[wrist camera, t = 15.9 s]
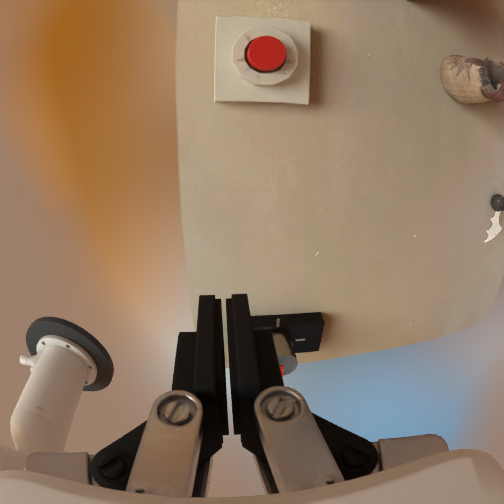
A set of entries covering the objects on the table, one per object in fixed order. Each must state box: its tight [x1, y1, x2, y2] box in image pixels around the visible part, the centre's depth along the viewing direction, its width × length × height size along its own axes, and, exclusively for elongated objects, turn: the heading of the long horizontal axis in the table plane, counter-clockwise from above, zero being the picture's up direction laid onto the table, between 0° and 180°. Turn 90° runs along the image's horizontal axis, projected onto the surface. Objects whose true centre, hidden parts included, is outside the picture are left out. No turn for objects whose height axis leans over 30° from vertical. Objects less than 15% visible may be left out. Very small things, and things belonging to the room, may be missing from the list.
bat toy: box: [483, 194, 504, 243], centre depth 36 cm, size 3×15×5 cm, turn 150°
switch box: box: [214, 16, 310, 105], centre depth 26 cm, size 10×10×4 cm
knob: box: [272, 330, 298, 377], centre depth 41 cm, size 4×4×5 cm
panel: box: [250, 312, 325, 353], centre depth 44 cm, size 14×9×3 cm, turn 89°
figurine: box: [441, 55, 504, 104], centre depth 24 cm, size 7×7×12 cm
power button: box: [247, 36, 286, 72], centre depth 24 cm, size 4×4×2 cm
